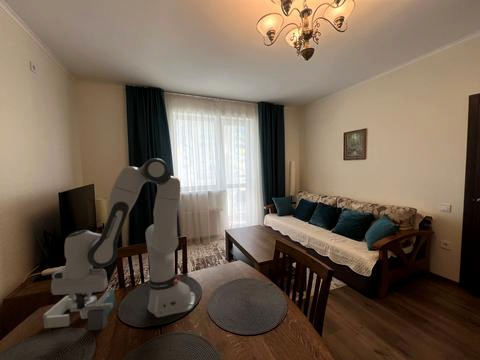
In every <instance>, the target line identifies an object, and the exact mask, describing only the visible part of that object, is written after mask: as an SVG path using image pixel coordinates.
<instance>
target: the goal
mask: <svg viewBox="0 0 480 360" xmlns="http://www.w3.org/2000/svg"><path fill="white" fill-rule="evenodd" d="M76 305H77V303H72V299H71V298H70V297H69V295H65V296H64V297H63V298H62V299H60V300H59V301H58V302H57V303H55V304H54V305H53V306H52V307H51V308H49V310H47V311H46V312H45V313H44V314H43V328H44V329H51V328H52V329H53V328H61V327H69V325H70V323H71V320H70V314H68V313H67V314H64V313H65V312H66V311H67V310H70V308H71V307H72V306H76Z"/></svg>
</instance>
